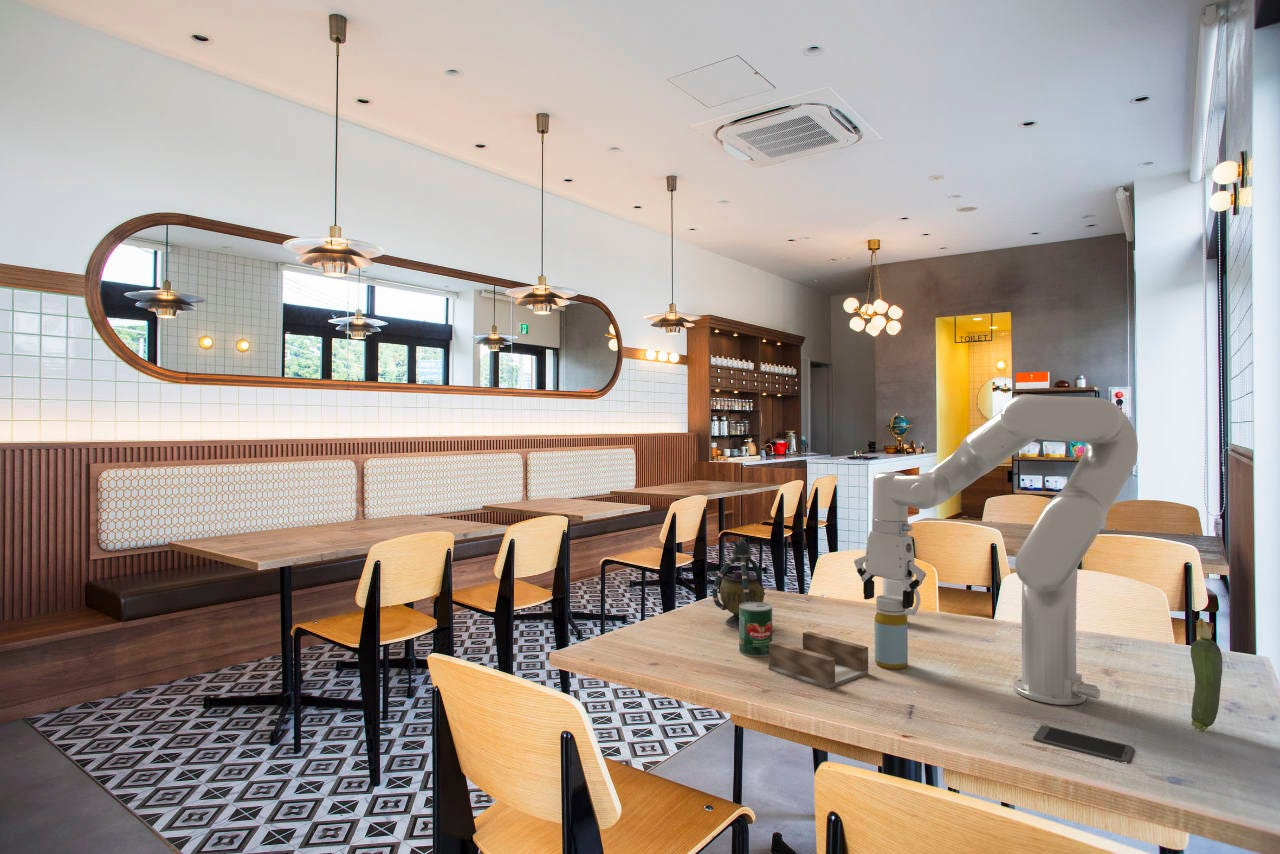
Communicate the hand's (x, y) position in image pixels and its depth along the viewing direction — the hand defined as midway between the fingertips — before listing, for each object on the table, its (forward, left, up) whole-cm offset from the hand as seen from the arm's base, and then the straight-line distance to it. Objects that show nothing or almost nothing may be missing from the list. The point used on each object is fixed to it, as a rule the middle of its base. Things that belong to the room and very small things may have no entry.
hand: (887, 603), depth 163 cm
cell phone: (-44, +12, -14) cm, 47 cm away
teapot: (+45, -3, -14) cm, 48 cm away
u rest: (+7, +16, -14) cm, 22 cm away
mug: (+16, -33, -14) cm, 40 cm away
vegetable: (-56, -10, -14) cm, 58 cm away
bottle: (-1, 0, -14) cm, 14 cm away
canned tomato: (+25, +16, -14) cm, 33 cm away
